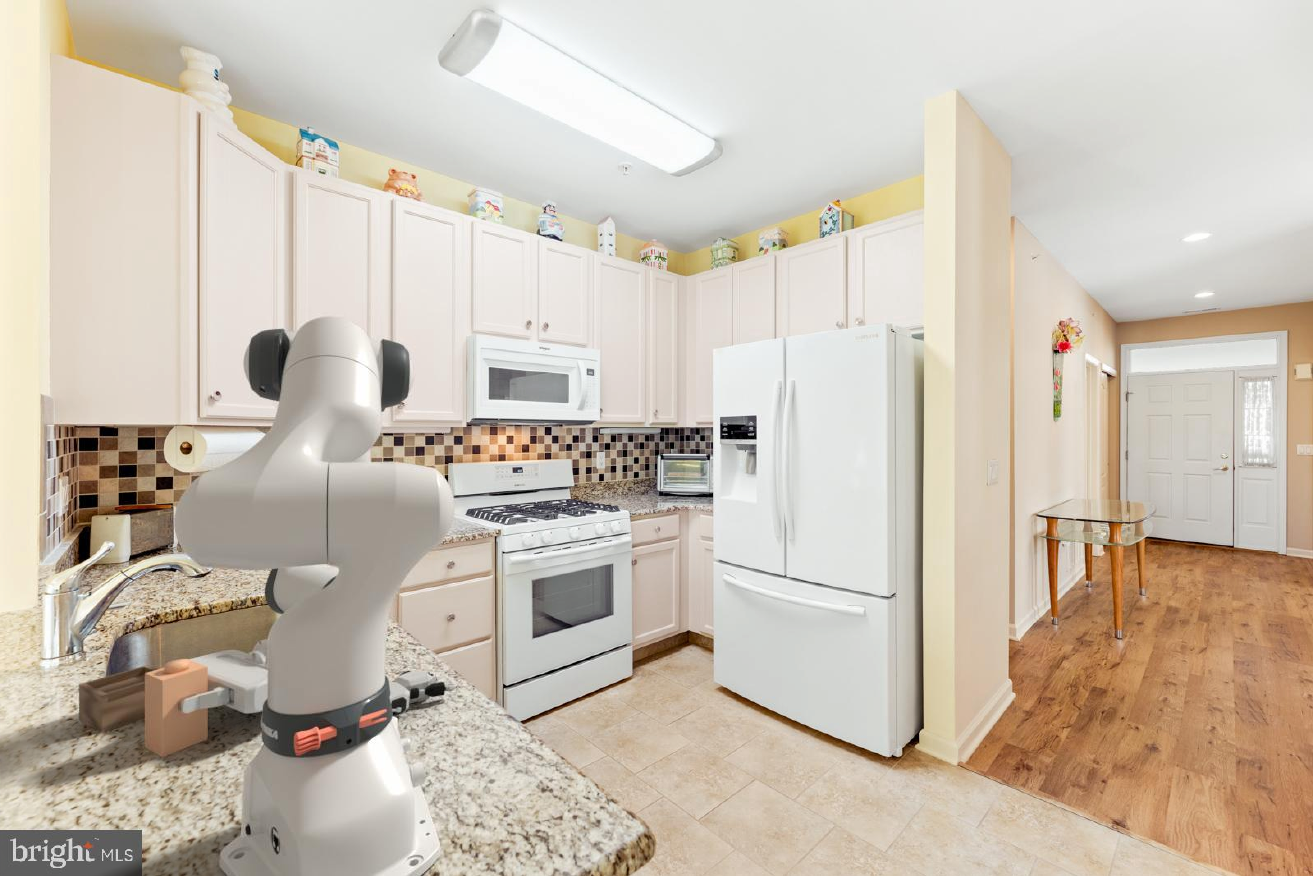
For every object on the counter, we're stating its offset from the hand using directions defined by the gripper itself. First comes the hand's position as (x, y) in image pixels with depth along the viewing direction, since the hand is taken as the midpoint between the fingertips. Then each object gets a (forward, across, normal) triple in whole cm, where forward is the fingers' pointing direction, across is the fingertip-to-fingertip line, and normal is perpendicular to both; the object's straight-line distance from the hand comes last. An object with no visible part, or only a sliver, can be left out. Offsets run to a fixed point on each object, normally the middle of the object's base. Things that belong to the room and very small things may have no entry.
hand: (168, 701), depth 75 cm
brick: (-1, 0, +6) cm, 6 cm away
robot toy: (-21, +18, +6) cm, 28 cm away
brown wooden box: (-1, -17, +6) cm, 18 cm away
